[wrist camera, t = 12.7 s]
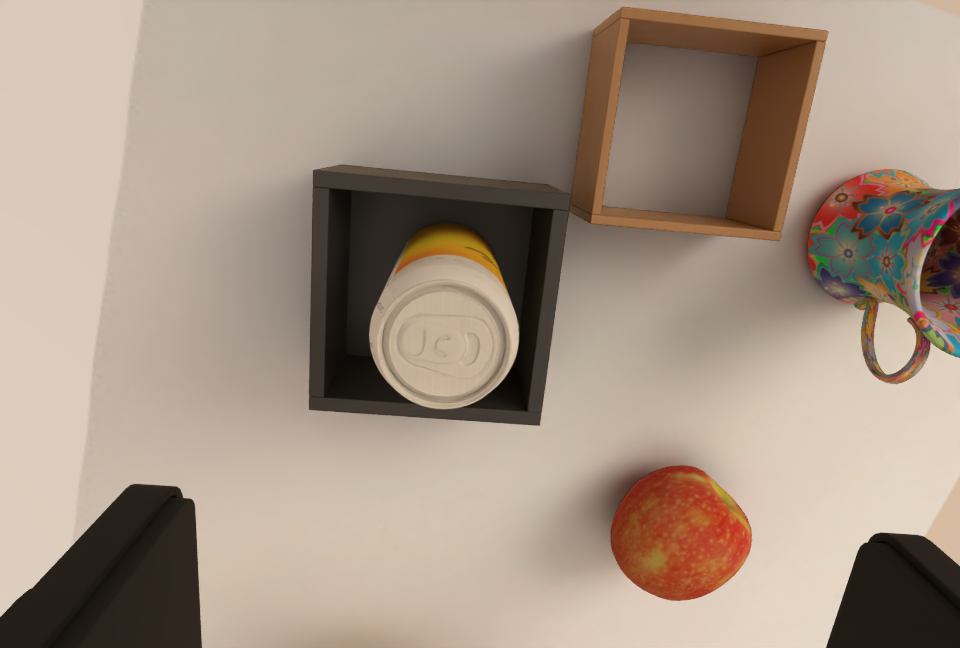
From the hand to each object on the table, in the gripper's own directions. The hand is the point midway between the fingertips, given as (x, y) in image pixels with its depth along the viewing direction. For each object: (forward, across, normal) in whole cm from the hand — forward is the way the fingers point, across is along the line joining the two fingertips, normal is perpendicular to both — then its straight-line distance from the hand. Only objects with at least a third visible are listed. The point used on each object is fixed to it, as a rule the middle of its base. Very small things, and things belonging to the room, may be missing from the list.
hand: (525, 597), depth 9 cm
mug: (+31, -24, -1) cm, 40 cm away
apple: (+31, -15, +18) cm, 39 cm away
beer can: (+31, +2, +2) cm, 31 cm away
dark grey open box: (+31, +2, +3) cm, 31 cm away
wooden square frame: (+31, -11, -7) cm, 34 cm away
